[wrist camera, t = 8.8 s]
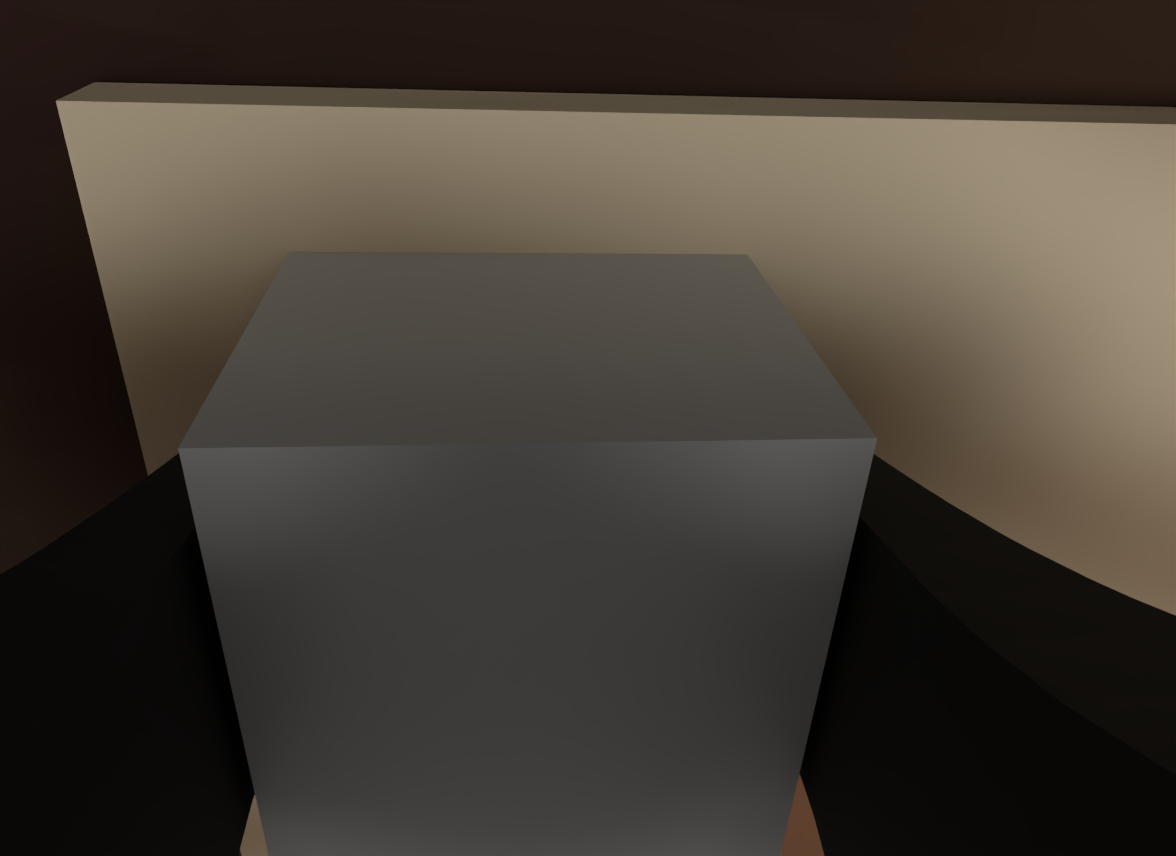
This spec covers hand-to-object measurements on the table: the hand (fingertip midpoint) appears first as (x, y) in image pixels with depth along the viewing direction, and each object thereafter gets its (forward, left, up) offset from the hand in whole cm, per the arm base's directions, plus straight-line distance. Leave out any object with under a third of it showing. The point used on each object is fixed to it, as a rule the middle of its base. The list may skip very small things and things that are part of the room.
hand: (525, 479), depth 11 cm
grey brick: (0, 0, -1) cm, 1 cm away
